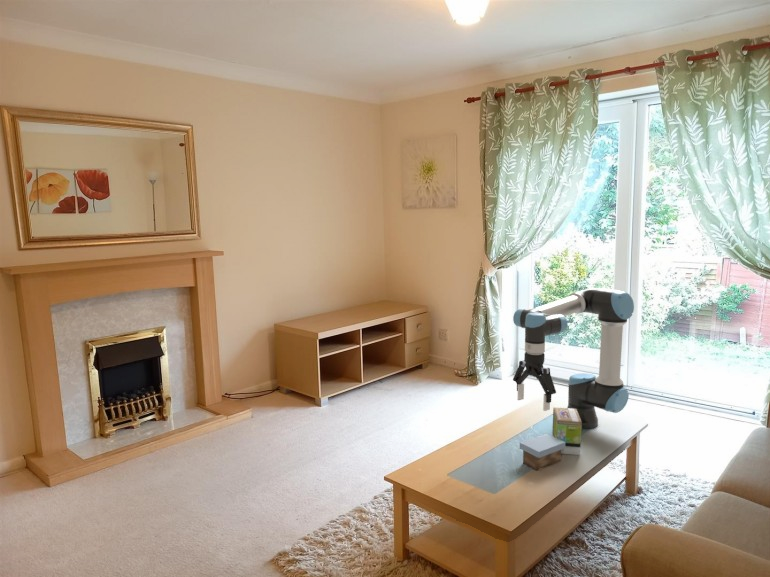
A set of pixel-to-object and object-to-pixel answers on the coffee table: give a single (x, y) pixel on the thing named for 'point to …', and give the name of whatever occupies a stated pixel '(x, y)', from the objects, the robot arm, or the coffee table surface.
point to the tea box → (567, 429)
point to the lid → (542, 445)
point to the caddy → (541, 460)
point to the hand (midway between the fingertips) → (533, 404)
